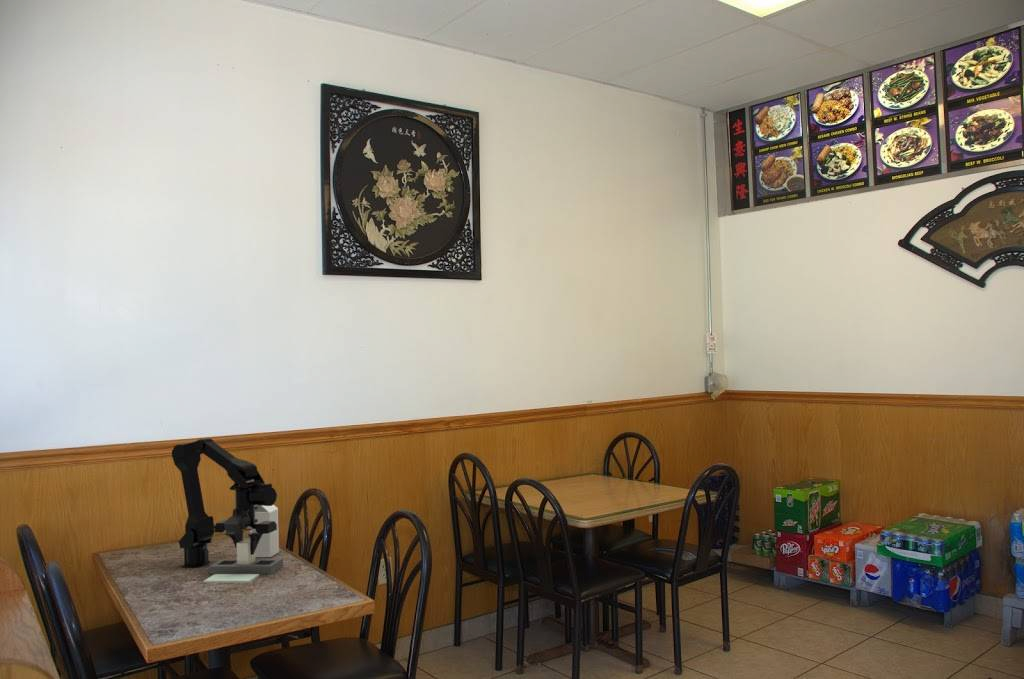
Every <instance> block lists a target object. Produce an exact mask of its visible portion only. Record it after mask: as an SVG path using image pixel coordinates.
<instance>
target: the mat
mask: <svg viewBox="0 0 1024 679" xmlns="http://www.w3.org/2000/svg"><path fill="white" fill-rule="evenodd" d="M258 577H260V574H212V575H211V576H210V577H208V578H206V579H205V580H203V583H204V584H215V583H216V584H223V583H224V584H229V583H230V584H233V583H234V584H235V583H236V584H240V583H241V584H249V583H251V582H253V581H255V580H256V579H258Z"/></svg>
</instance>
